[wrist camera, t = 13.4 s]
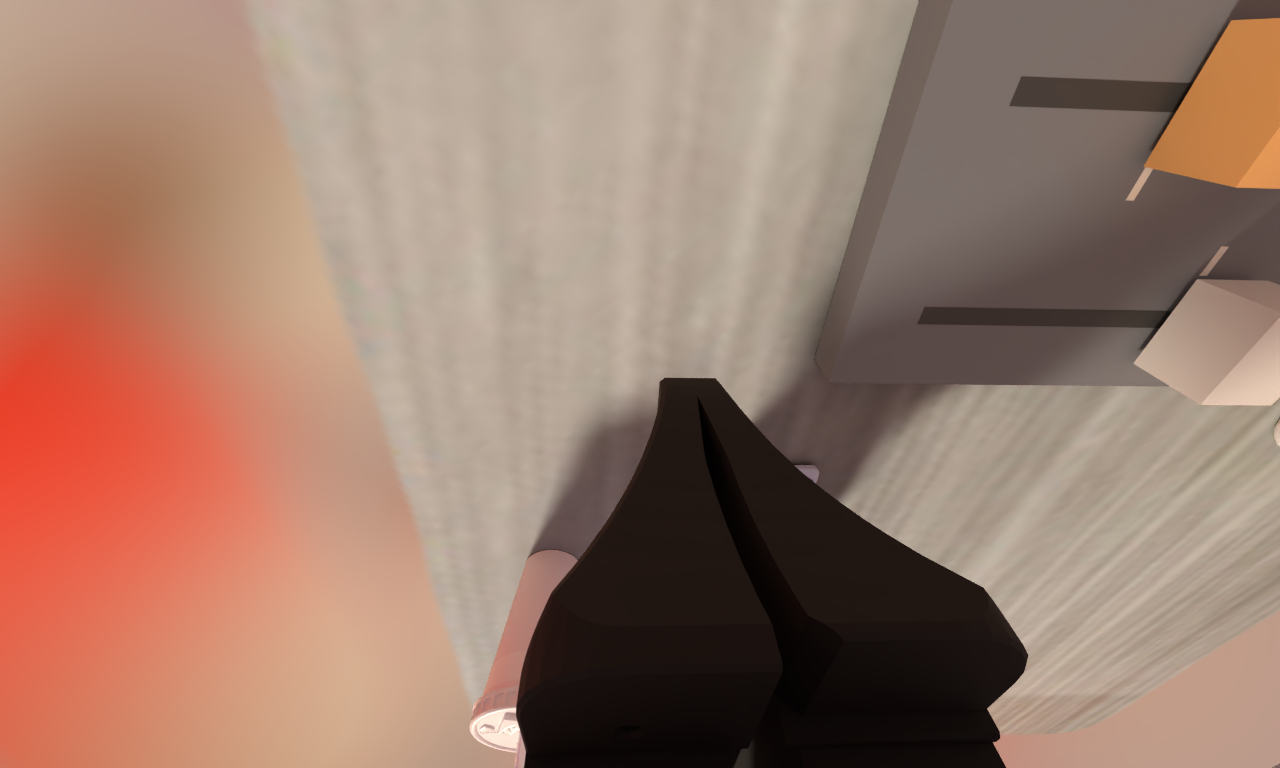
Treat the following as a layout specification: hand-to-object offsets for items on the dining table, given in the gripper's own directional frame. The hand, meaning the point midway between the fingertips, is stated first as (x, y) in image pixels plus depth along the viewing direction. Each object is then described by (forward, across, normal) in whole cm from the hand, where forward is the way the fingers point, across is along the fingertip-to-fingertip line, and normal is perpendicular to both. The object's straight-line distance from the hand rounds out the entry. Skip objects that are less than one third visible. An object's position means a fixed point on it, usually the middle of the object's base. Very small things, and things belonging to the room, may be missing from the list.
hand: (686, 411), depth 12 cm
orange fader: (+8, -18, -7) cm, 21 cm away
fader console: (+10, -18, -2) cm, 21 cm away
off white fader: (+8, -23, +1) cm, 24 cm away
